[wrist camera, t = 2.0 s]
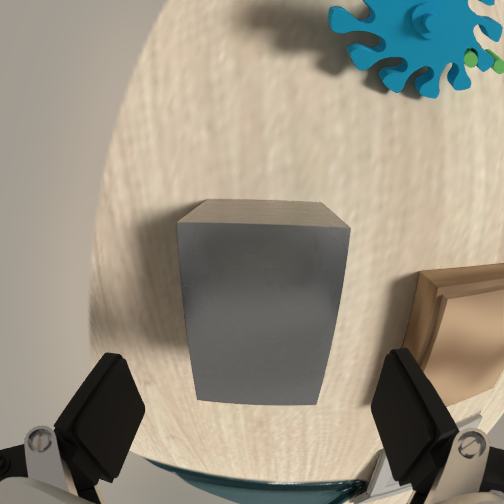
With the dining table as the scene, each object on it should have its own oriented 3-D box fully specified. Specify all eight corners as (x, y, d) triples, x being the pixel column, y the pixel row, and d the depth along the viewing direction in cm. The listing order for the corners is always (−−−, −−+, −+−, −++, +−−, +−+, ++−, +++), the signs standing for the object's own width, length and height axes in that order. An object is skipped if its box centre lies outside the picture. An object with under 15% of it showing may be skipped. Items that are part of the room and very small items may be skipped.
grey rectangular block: (208, 198, 15) (176, 222, 9) (321, 202, 14) (350, 227, 9) (214, 338, 18) (197, 399, 12) (305, 341, 17) (316, 404, 12)
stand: (419, 271, 15) (443, 292, 12) (521, 261, 14) (542, 274, 11) (384, 399, 19) (393, 425, 16) (481, 371, 18) (494, 389, 15)
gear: (302, 65, 10) (364, -104, 1) (292, 30, 13) (333, -90, 4) (465, 134, 12) (540, 30, 3) (430, 84, 14) (483, -5, 5)
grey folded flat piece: (425, 477, 29) (430, 491, 25) (351, 499, 30) (353, 515, 27) (478, 407, 21) (489, 426, 18) (381, 443, 23) (388, 468, 19)
